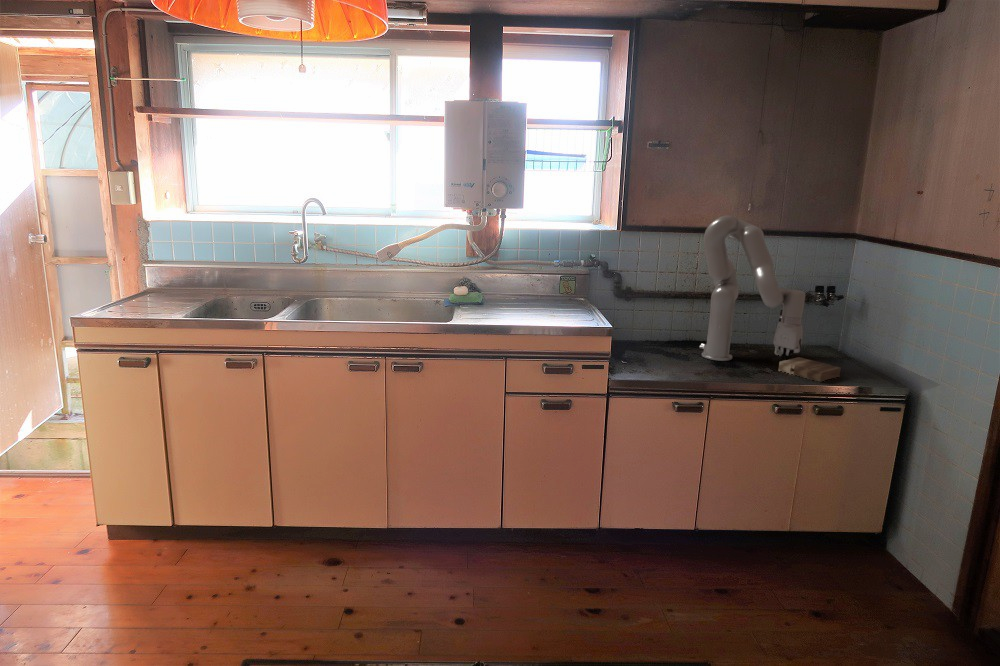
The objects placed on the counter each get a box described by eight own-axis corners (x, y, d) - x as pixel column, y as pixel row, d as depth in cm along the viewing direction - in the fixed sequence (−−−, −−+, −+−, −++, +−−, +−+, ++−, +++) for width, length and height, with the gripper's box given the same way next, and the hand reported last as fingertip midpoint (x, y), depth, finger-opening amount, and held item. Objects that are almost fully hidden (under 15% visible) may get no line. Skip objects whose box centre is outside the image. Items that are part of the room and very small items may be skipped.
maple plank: (778, 371, 264) (779, 361, 263) (797, 366, 272) (799, 357, 271) (793, 375, 259) (794, 365, 258) (812, 370, 266) (814, 361, 265)
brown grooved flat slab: (790, 374, 260) (792, 364, 259) (810, 369, 267) (811, 359, 266) (819, 382, 250) (821, 372, 249) (839, 377, 258) (840, 367, 257)
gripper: (769, 317, 268) (763, 360, 273) (803, 325, 256) (796, 369, 261) (779, 315, 272) (773, 357, 277) (813, 323, 261) (806, 367, 265)
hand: (784, 363), depth 269 cm, fingers closed
